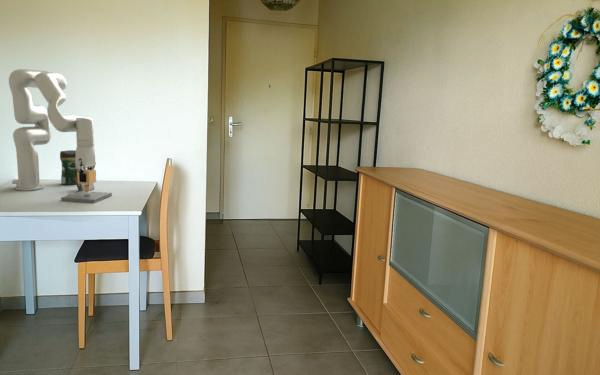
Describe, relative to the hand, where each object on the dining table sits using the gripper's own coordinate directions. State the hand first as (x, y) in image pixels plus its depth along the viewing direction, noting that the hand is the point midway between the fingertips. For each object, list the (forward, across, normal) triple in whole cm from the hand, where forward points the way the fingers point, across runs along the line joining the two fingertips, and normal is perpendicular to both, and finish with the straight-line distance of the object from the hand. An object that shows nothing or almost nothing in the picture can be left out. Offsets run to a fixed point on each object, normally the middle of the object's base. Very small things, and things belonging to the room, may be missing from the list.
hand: (86, 180), depth 225 cm
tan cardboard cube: (+1, 0, 0) cm, 1 cm away
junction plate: (+9, 0, 0) cm, 9 cm away
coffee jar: (+9, -30, -27) cm, 42 cm away
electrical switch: (+9, -16, -11) cm, 22 cm away
